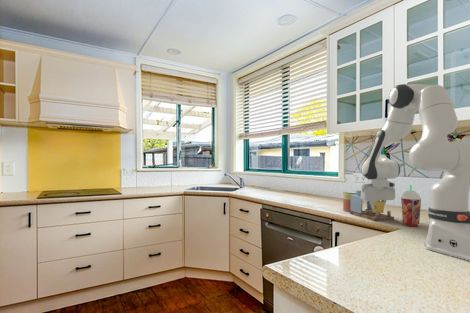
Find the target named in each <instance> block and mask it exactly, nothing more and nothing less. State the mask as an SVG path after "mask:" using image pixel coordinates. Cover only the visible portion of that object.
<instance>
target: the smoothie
mask: <svg viewBox="0 0 470 313" xmlns="http://www.w3.org/2000/svg"><path fill="white" fill-rule="evenodd" d="M400 198H401V199H400V201H401V202H400V203H401V213H402V214H401V216H402V217H401V218H402V222H403V224H404V226H407V227H413V228H416V227H418V226H419V224H420V219H421V218H420V217H421V205H422V203H421V202H422V198H421V197H420V194H419V193H418V192H417V191H415V190H413V189H412V184H410V185H409V189H408V190H407V191H405V192H403V194H402V195H401V197H400Z"/></svg>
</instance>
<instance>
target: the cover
mask: <svg viewBox="0 0 470 313" xmlns="http://www.w3.org/2000/svg"><path fill="white" fill-rule="evenodd" d="M361 190H362V189H361ZM361 190H360V189H359V190H358V189H357V190H355V191H356V195H351V211H353V212H357V213H361V214H362V211H363V200H361ZM379 201H381V200H379ZM366 209H369V211H372V208H371V204H370V201H366Z"/></svg>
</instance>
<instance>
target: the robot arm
mask: <svg viewBox="0 0 470 313" xmlns="http://www.w3.org/2000/svg"><path fill="white" fill-rule="evenodd" d="M388 102H389V106H391V107H390V109H389V111H388V114H387V119H386V121H385V123H384V125H383V127H382V129H380V130H379V131H377V133H376V134H375V136H374V138H373V140H372V142H371V145H370V148H369V150H368V153H367V155H366V158H365V159H364V161H363V163H362V165H361V168H360V170H361V174H362V176H363V177H364V178H366V179H367V180H368V183H363V185H362V186H361V200H362V202H363V201H365V202H367V201H370V204H371V208H372V209H376V206H375V205H374V202H375V201H379V200H380V201H382V202H384V206H385V205H386V204H387V201H394V200H395V199H396V189H395V186H396V184H395V182H392V181H390V180H392V179H393V180H394V179H396V178H398V177H399V175H400V174H401V166H400V164H399V163H398V161H396V160H392V159H390V158H389V157H387V155H386V154H385V153H384V154H383V153H382V151H383V149H384V148H385V146H386V145H388V144H390V143H392V142H394V141H399V140H401V139H403V138H405V137H407V136H408V135H409V134H410V132H411V131H412V127H413V125H414V120H415V115H416V113H417V112H418V114H419V118H420V123H421V130H422V133H421V137H420V138H419V140H418V141H417V143H415V144H414V145H413V146H412V147H411V148H410V150H409V151H408V152H409V153H408V160H409V162H410V164H411V166H412V167H414V168H415V169H417V170H422V171H427V172H445V173H444V175H443V176H442V178H441V179H440V180H439V181H437V182H435V183H433V184H432V185H431V186H430V189H429V207H428V210H427V211H428V215H427V217H428V219H429V221H428V229H427V234H426V238H425V241H424V246H426V249H427V250H428V251H429V250H430V251H433V252H436V253H439V254H443V255H446V256H451V257H453V256H454V258H457V257H458V258H457V259H460V258H461V260H464V259H465V260H464V261H467V260H468V262H470V210H469V201H470V200H469V199H470V198H469V197H470V141H449V139H448V135H450V134H451V133H453V132H454V131H456V129H458V126H459V120H458V117H457V112H456V110H455V106H454V104H453V102H452V99H451V97H450V95H449V92H448V91H447V89H446V88H445V87H444V86H442V85H440V84H432V85H429V84H420V83H410V84H409V83H407V84H405V83H402V84H397V85H395V86H393V87H392V88H391V90H390V92H389V94H388ZM389 179H390V180H389Z"/></svg>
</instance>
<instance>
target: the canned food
mask: <svg viewBox="0 0 470 313" xmlns="http://www.w3.org/2000/svg"><path fill="white" fill-rule="evenodd" d="M342 194H343V196H342V199H343V200H342V203H343V204H342V210H343V212H346V213H350V211H351V195H356V190H346V191H345V190H343V191H342Z"/></svg>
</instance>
